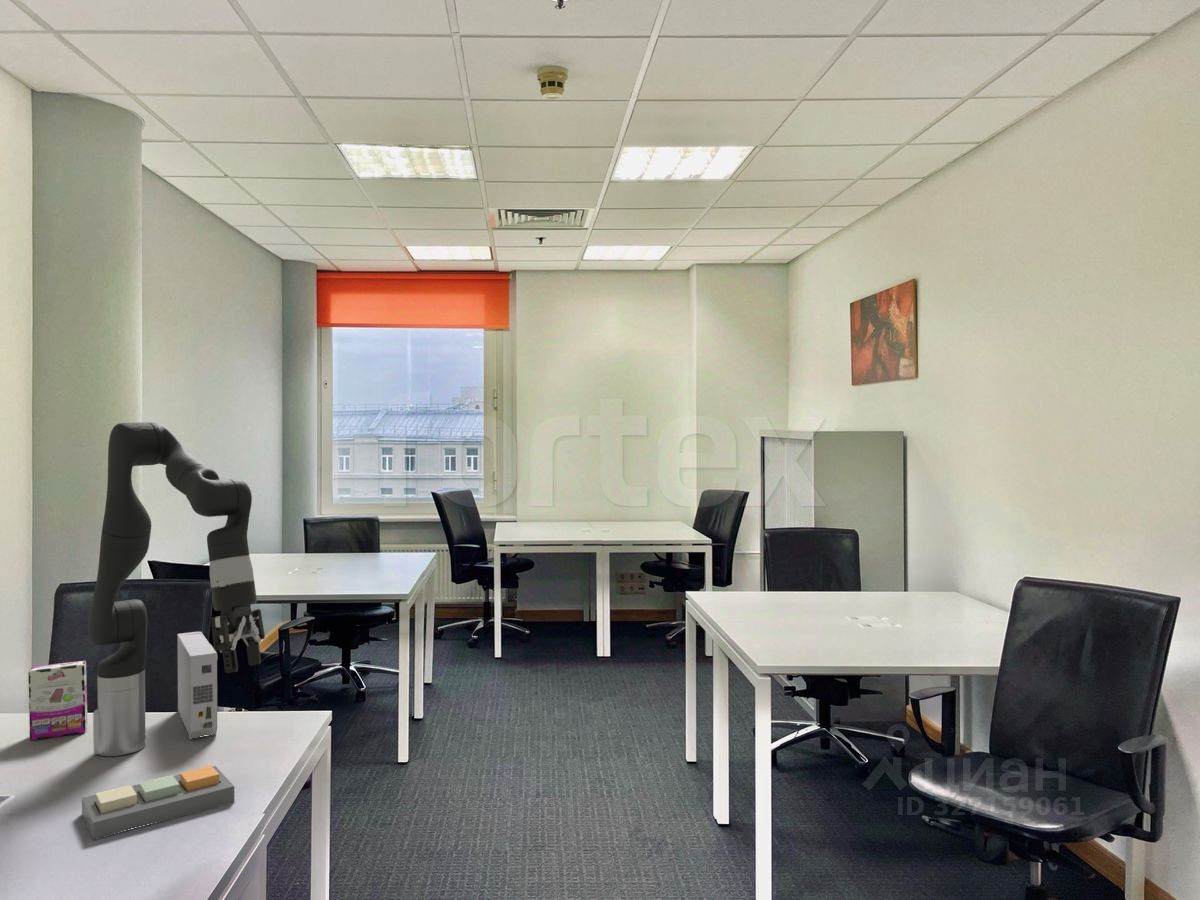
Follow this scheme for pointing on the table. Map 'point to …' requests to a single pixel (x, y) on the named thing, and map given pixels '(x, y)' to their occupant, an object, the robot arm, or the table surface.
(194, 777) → the orange key
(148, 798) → the sage key
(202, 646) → the game console
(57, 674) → the candy bar box
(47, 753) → the table surface
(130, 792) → the beige key
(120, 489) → the robot arm
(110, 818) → the keypad
